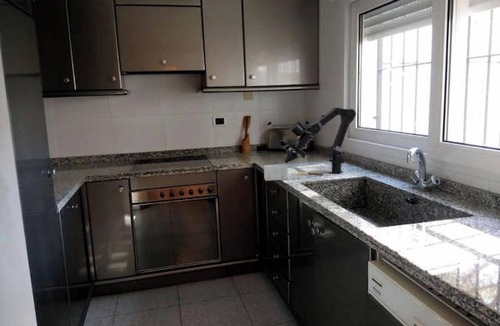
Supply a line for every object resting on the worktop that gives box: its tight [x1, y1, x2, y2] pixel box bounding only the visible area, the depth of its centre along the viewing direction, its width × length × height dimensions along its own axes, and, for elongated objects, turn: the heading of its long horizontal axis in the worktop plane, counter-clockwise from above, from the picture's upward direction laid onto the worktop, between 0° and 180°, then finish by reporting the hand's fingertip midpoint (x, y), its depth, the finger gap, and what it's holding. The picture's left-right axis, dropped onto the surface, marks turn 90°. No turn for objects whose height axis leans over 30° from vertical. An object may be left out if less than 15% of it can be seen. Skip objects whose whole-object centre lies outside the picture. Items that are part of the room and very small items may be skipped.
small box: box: [263, 163, 289, 182], centre depth 214 cm, size 8×6×13 cm
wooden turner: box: [295, 171, 324, 176], centre depth 223 cm, size 6×16×1 cm, turn 58°
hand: (285, 162), depth 212 cm, fingers closed
